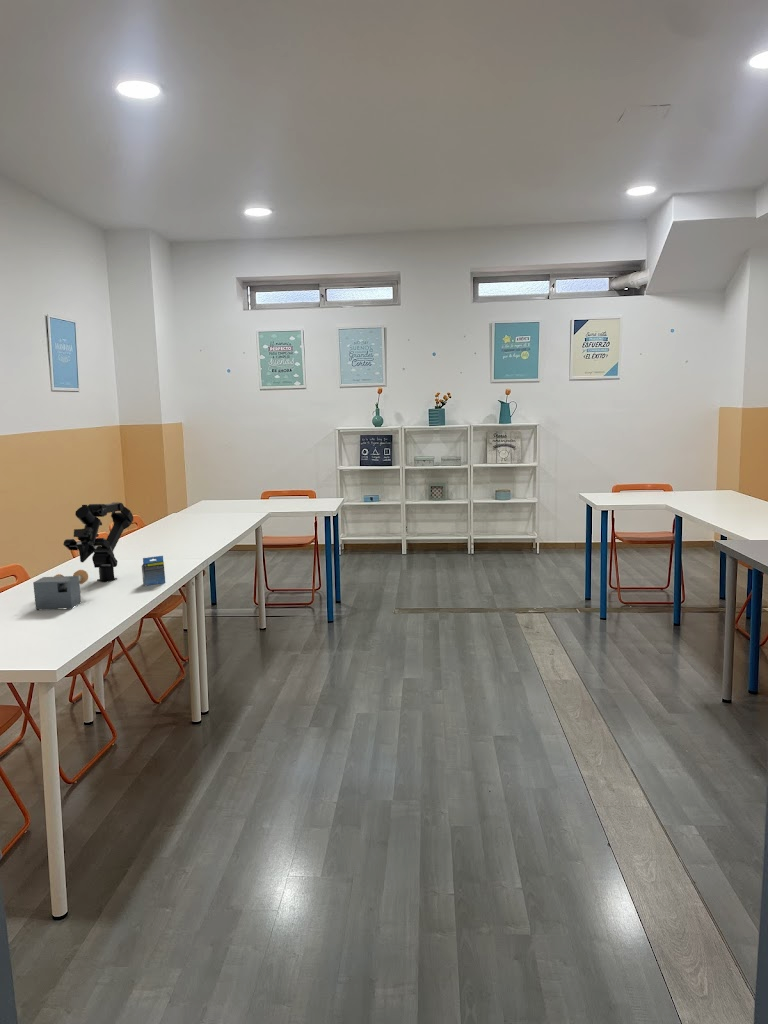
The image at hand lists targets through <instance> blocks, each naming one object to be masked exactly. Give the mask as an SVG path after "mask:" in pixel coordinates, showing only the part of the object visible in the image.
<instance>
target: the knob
mask: <svg viewBox="0 0 768 1024" xmlns="http://www.w3.org/2000/svg"><path fill="white" fill-rule="evenodd" d="M72 576H79V585H82V584H85V583H86V582H88V579H89V574H88V572H87V571H86V570H84V569H78V570H76V571H75V572H74V573H73V575H72ZM63 587H64V588H65V589H67V583H64V584H63Z"/></svg>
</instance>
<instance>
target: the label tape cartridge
mask: <svg viewBox="0 0 768 1024" xmlns="http://www.w3.org/2000/svg"><path fill="white" fill-rule="evenodd" d="M165 572H166V571H165V563H164V555H159V556H150V557H149V556H148V557H142V565H141V574H142V575H141V577H142V584H143V586H145V585H147V586H151V584H153V585H158V584H165V583H166V573H165Z"/></svg>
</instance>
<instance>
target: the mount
mask: <svg viewBox="0 0 768 1024" xmlns="http://www.w3.org/2000/svg"><path fill="white" fill-rule="evenodd" d="M64 583H67V589H65V588H64V587H63V584H64ZM80 585H81V584H79V576H73V575H69V576H68V575H66V576H65V575H63V574H56V575H54V576H42V577H41V578H39V579H36V580H35V581H33V593H34V603H35V604H34V605H35V610H36V609H55V610H59V609H58V608H73V607H74V606H76V605H77V604H79V603H80V602H81V603H82V599H81V598H82V597H81V588H80ZM81 603H80V604H81ZM80 604H79V605H80ZM77 606H78V605H77ZM77 606H76V607H77ZM74 608H75V607H74ZM74 608H73V609H74Z"/></svg>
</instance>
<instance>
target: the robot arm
mask: <svg viewBox="0 0 768 1024" xmlns="http://www.w3.org/2000/svg"><path fill="white" fill-rule="evenodd" d="M110 513H111V514H110ZM108 514H110V517H111V519H112V523H113V526H112V528H111V529H110V531H109V533H108V535H107V538H105V537H99V533H98V531H99V528H100V526H103V522H102V521H101V519H100V518H104V517H106V516H107V515H108ZM74 515H75V517H76V518H77V519H78V520H79V521H80V522H81V524H83V525H84V527H83V528H75V529H73V537H74V538H66V539H65V540H64V541H63V543H62V544H63V547H65V548H66V549H68V550H69V551H72V552H73V551H78V552H79V560H80V563H84V562H86V560H87V559H88V558H89V557H90V556H91V555H92V557H91V559H92V563H93V565H94V566H93V567H94V568H98V573H99V574H98V575H99V577H98V578H97V579H96V581H97V582H102V583H103V582H104V583H106V582H107V581H108V582H111V580H112V581H114V580H115V579H116V580H118V577H115V570H114V568H117V566H118V560H117V559H116V557H115V553H114V551H115V548H116V546H117V544H118V542H119V540H120V538H121V536H122V534H123V533H124V531H125V530H126V529H128V528H129V527H130V526H131V525H132V523H133V522H134V516H133V515H134V514H133V513H132V511H131V510H130V509H129V508H127V507H125V504H123V503H122V502H117V501H116V502H111V503H90V504H81V507H79V508H77V509H76V511H75V514H74ZM97 537H98V538H97ZM75 538H77V540H75Z"/></svg>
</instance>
